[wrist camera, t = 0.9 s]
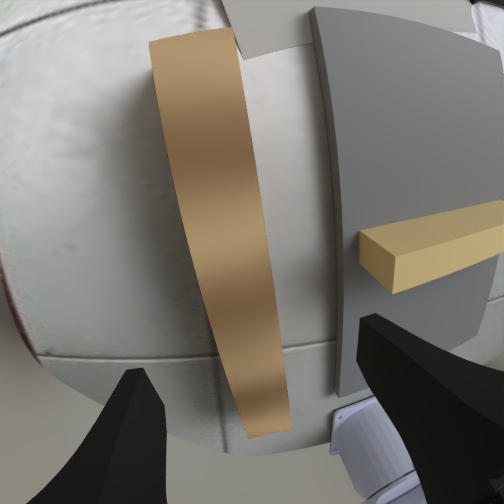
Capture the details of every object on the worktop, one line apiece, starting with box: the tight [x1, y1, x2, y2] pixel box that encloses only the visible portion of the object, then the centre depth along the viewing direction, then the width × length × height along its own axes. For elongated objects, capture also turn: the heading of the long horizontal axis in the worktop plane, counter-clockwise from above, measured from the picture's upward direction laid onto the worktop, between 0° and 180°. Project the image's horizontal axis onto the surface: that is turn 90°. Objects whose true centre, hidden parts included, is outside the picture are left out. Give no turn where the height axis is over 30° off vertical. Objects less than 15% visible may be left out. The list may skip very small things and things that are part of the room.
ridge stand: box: [308, 6, 504, 398], centre depth 15 cm, size 26×16×4 cm, turn 9°
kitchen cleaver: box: [221, 0, 504, 60], centre depth 11 cm, size 31×2×10 cm
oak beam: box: [149, 27, 292, 439], centre depth 15 cm, size 22×3×4 cm, turn 9°
